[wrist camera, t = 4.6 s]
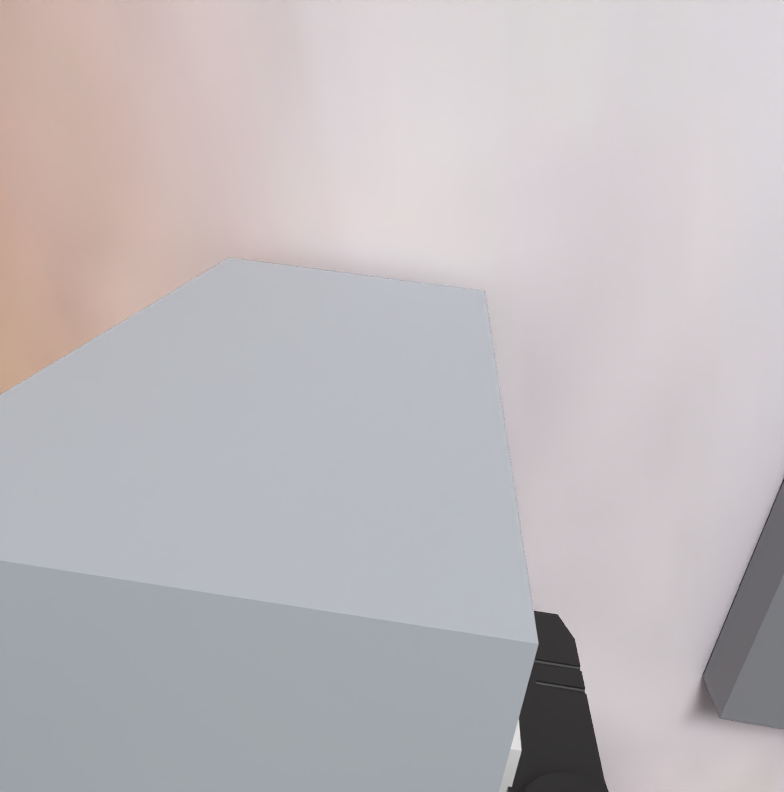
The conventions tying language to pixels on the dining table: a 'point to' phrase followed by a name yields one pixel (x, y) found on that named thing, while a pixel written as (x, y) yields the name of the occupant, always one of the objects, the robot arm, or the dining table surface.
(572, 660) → the robot arm
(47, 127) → the dining table surface
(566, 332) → the dining table surface
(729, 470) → the dining table surface
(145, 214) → the dining table surface
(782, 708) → the grey peg board
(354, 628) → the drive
